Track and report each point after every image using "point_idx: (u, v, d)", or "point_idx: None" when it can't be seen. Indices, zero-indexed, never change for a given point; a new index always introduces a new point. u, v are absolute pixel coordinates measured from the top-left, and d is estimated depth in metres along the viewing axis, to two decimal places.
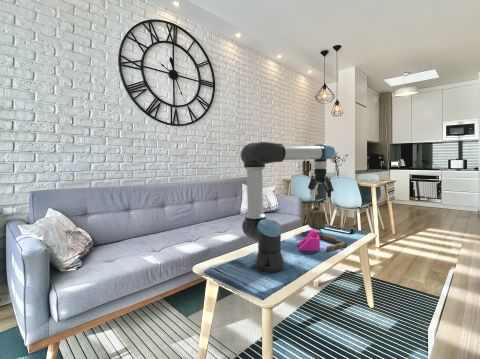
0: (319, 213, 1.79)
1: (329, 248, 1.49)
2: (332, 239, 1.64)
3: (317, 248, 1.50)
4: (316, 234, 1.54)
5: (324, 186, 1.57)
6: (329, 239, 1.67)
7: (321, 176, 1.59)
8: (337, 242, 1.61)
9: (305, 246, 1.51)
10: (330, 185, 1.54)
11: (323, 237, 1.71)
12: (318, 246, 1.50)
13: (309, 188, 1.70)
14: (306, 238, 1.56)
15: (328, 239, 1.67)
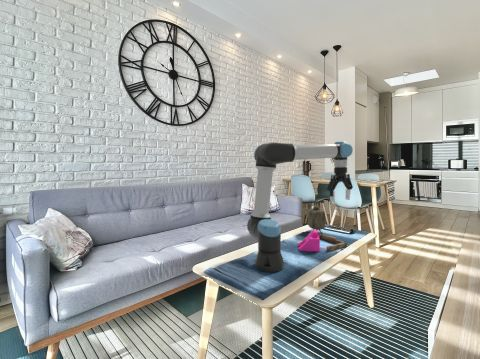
0: (319, 213, 1.79)
1: (329, 248, 1.49)
2: (332, 239, 1.64)
3: (317, 248, 1.49)
4: (316, 234, 1.54)
5: None
6: (329, 239, 1.67)
7: None
8: (337, 242, 1.61)
9: (305, 246, 1.50)
10: (330, 184, 1.52)
11: (323, 237, 1.71)
12: (318, 246, 1.49)
13: None
14: (306, 238, 1.55)
15: (328, 239, 1.67)
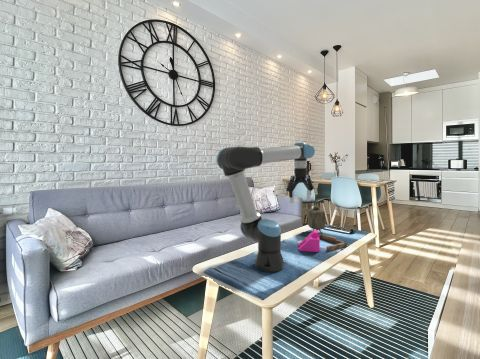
0: (319, 213, 1.79)
1: (329, 248, 1.49)
2: (332, 239, 1.64)
3: (317, 249, 1.49)
4: (317, 235, 1.53)
5: None
6: (329, 239, 1.67)
7: None
8: (337, 242, 1.61)
9: (304, 246, 1.50)
10: (289, 185, 1.52)
11: (323, 237, 1.71)
12: (318, 247, 1.48)
13: None
14: (307, 238, 1.55)
15: (328, 239, 1.67)
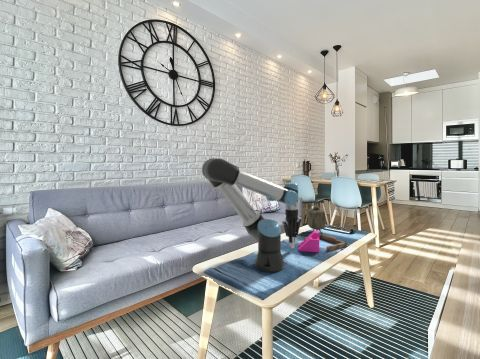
0: (319, 213, 1.79)
1: (329, 248, 1.49)
2: (332, 239, 1.64)
3: (316, 249, 1.48)
4: (317, 235, 1.52)
5: None
6: (329, 239, 1.67)
7: None
8: (337, 242, 1.61)
9: (304, 246, 1.50)
10: (286, 231, 1.47)
11: (323, 237, 1.71)
12: (317, 247, 1.48)
13: None
14: (307, 239, 1.55)
15: (328, 239, 1.67)
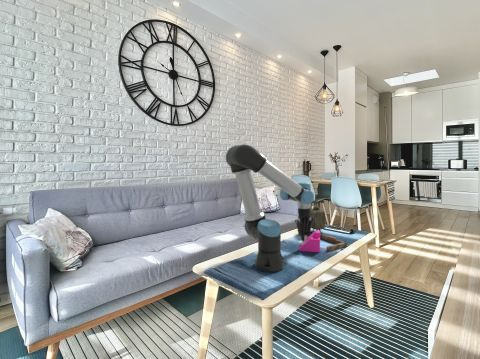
0: (319, 213, 1.79)
1: (329, 248, 1.49)
2: (332, 239, 1.64)
3: (317, 249, 1.48)
4: (318, 235, 1.52)
5: None
6: (329, 239, 1.67)
7: None
8: (337, 242, 1.61)
9: (305, 246, 1.50)
10: (298, 229, 1.51)
11: (323, 237, 1.71)
12: (318, 247, 1.48)
13: None
14: (308, 238, 1.55)
15: (328, 239, 1.67)
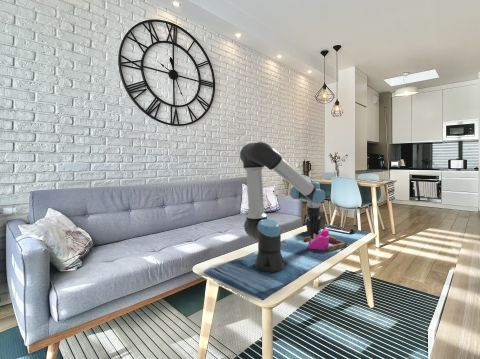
0: (319, 213, 1.79)
1: (329, 248, 1.49)
2: (332, 239, 1.64)
3: (326, 247, 1.51)
4: (326, 233, 1.56)
5: None
6: (329, 239, 1.67)
7: None
8: (337, 242, 1.61)
9: (314, 244, 1.54)
10: (308, 227, 1.55)
11: None
12: (327, 245, 1.51)
13: None
14: (317, 236, 1.58)
15: None
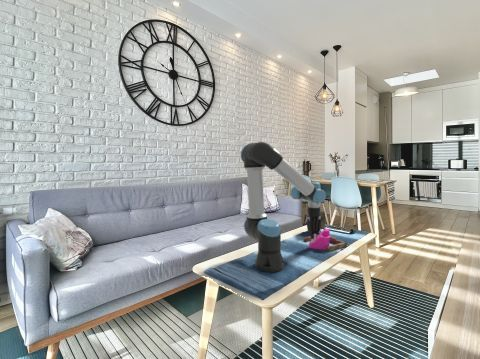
0: (319, 213, 1.79)
1: (329, 248, 1.49)
2: (332, 239, 1.64)
3: None
4: (327, 233, 1.56)
5: None
6: None
7: None
8: (337, 242, 1.61)
9: (314, 244, 1.54)
10: (308, 228, 1.55)
11: None
12: (328, 245, 1.51)
13: None
14: (317, 236, 1.59)
15: None
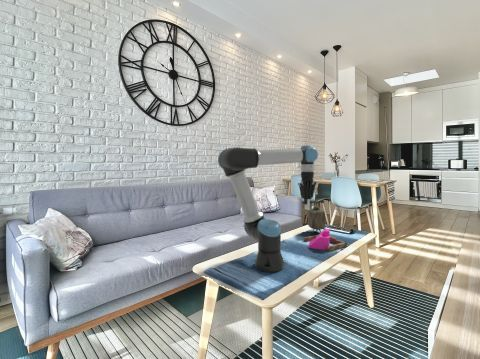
0: (319, 213, 1.79)
1: (329, 248, 1.49)
2: (332, 239, 1.64)
3: (326, 247, 1.52)
4: (327, 233, 1.56)
5: None
6: (329, 239, 1.67)
7: None
8: (337, 242, 1.61)
9: (314, 244, 1.54)
10: (301, 192, 1.50)
11: None
12: (327, 245, 1.51)
13: None
14: (317, 236, 1.59)
15: None
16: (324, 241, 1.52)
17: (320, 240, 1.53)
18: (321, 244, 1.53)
